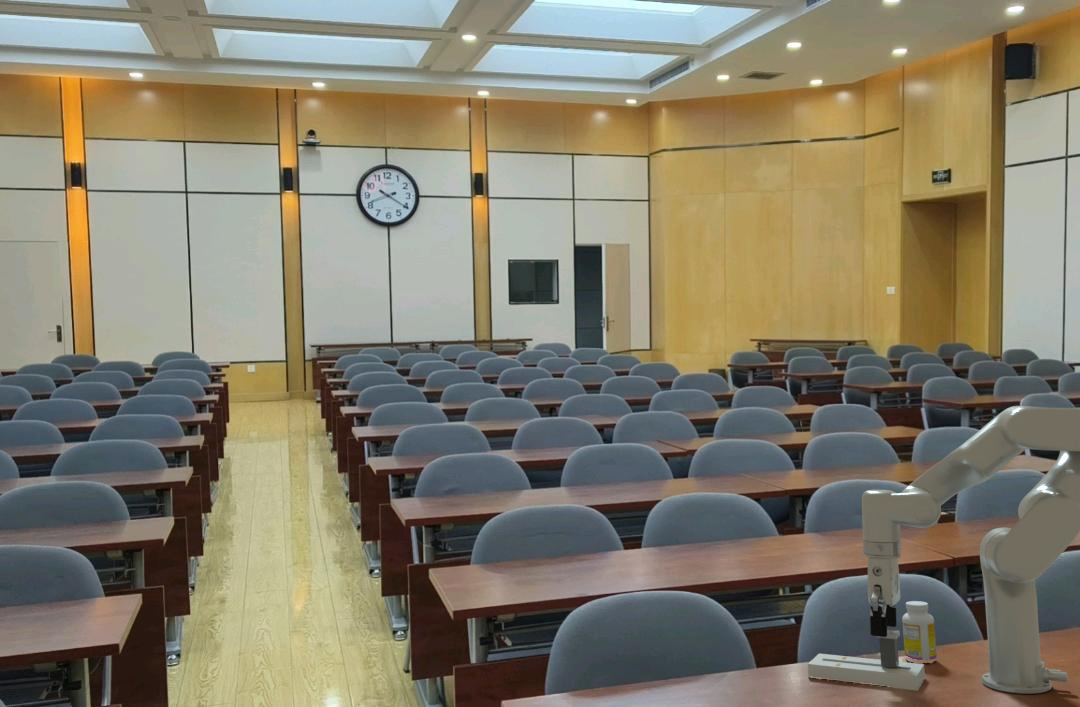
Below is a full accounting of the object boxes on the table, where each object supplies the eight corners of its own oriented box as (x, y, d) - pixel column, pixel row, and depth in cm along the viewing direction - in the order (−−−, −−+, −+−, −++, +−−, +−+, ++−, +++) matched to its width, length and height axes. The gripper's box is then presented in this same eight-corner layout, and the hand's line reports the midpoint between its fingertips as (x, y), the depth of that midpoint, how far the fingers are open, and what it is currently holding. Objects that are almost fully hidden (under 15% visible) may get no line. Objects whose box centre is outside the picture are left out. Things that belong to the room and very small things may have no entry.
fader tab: (901, 664, 195) (899, 630, 196) (898, 668, 192) (896, 634, 193) (881, 661, 197) (879, 628, 198) (878, 666, 194) (876, 632, 195)
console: (925, 678, 195) (924, 663, 196) (917, 690, 188) (916, 675, 188) (819, 667, 207) (818, 653, 207) (808, 678, 199) (807, 663, 199)
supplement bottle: (931, 656, 211) (927, 599, 212) (941, 664, 205) (937, 606, 206) (901, 657, 212) (897, 600, 213) (909, 665, 205) (906, 606, 206)
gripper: (892, 556, 187) (894, 642, 186) (908, 544, 202) (910, 624, 201) (854, 553, 191) (856, 637, 190) (872, 542, 206) (874, 620, 205)
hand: (883, 630), depth 195 cm, fingers open, 9 cm apart
